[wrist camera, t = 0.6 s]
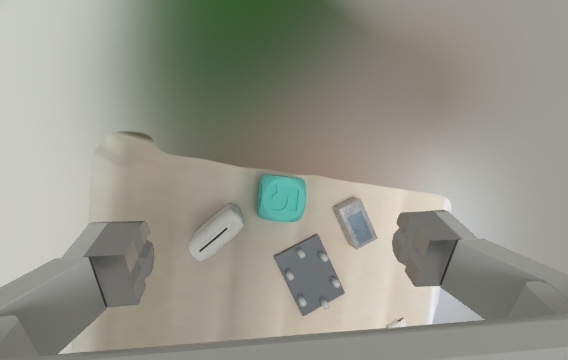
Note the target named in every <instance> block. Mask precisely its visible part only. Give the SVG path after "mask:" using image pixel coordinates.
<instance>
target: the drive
mask: <svg viewBox="0 0 568 360" xmlns="http://www.w3.org/2000/svg"><path fill="white" fill-rule="evenodd" d="M333 209H334V212H335V214H336V216H337V218H338V221H339V223H340V225H341V227H342V229H343V232H344V234H345V236H346V238H347V241H348V243H349V245H351V246H352V247H354V248H355V249H358V248H360V247H362V246H364V245H366V244H368V243H370V242H371V241H373V240H375V239H377V236H376V234H375V231H374V229H373V227H372V224H371V222H370V220H369V218H368V215H367V213H366V211H365V208H364V206H363V204H362V201H361V199H359V198H355V197H352V198H350V199H348V200H346V201H344V202H342V203H340V204H338V205H336V206H334V207H333Z"/></svg>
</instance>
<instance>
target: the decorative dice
mask: <svg viewBox="0 0 568 360" xmlns="http://www.w3.org/2000/svg"><path fill="white" fill-rule="evenodd" d="M305 201H306V185H305V181H304V180H303V179H302V178H294V177H284V176H275V175H265V174H263V175H262V176H261V178H260V183H259V190H258V201H257V214H258V216H259V217H260V218H263V219H267V220H273V221H282V222H295V221H298V220H299V219H300V218H301V217H302V215H303V212H304V208H305Z"/></svg>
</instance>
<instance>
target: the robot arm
mask: <svg viewBox="0 0 568 360" xmlns="http://www.w3.org/2000/svg"><path fill="white" fill-rule="evenodd" d="M397 225H398V226H399V229H398V230H397V231H396V232H395V233H394V235H393V240H392V246H393V252H394V254H395V257H396V258H397V260H398V261H399V262H400V263H402V264H404V265H405V266H406V268H405V272H406V274H407V275H408V277H409V278H410V280H411V281H412V283H413V284H414V286H415V287H420V286H441V288H442V289H444V290H445V291H447V292H448V293H449V294H451V295H452V296H453V297H455V298H456V299H458V300H459V301H460V302H462V303H463V304H464V305H466V306H467V307H469V308H470V309H471V310H473V311H474V312H475V313H477V314H478V315H480V316H481V317H482V318H484V319H485V320H481V321H468V322H456V323H443V324H431V325H418V326H406V327H394V328H381V329H369V330H356V331H343V332H331V333H318V334H306V335H293V336H281V337H268V338H256V339H244V340H231V341H219V342H207V343H195V344H183V345H170V346H158V347H146V348H133V349H120V350H108V351H95V352H82V353H69V354H58V353H59V352H60V351H61V350H62V349H64V347H66V346H67V345H68V344H69V343H70V342H71V341H72V340H73V339H74V338H76V337H77V336H78V335H79V334H80V333H81V332H82V331H83V330H84V329H85V328H86V327H88V326H89V325H90V324H91V323H92V322H93V321H94V320H95V319H96V318H97V317H98V316H99V315H101V314H102V313H103V312H104V311H105V310H106V307H117V306H128V305H138V304H139V302H140V299H141V297H142V294H143V292H144V289H145V287H146V285H145V281H144V279H145V278H147V277H148V276H149V275H150V274H151V271H152V269H153V264H154V248H153V244H152V243H151V242H150V241H148V240H147V238H148V236H149V234H150V230H149V226H148V223H147V222H145V221H123V222H93V223H90V224H89V225H88V226H87V227H86V229H85V230H84V231H83V232H82V234H81V235H80V236H79V237H78V238H77V240H76V241H75V242H74V243H73V245H72V246H71V247H70V248H69V249H68V251H67V252H66V253H65V254H64V256H63V257H62V258H60V259H53V260H52V261H50V262H48V263H46V264H44V265H42V266H40V267H38V268H37V269H35V270H33V271H31V272H29V273H27V274H25V275H23V276H21V277H20V278H18V279H16V280H14V281H12V282H10V283H8V284H6V285H4V286H3V287H1V288H0V360H568V275H567V274H565V273H562V272H560V271H557V270H555V269H553V268H551V267H548V266H546V265H543V264H541V263H539V262H536V261H534V260H532V259H529V258H527V257H524V256H522V255H520V254H518V253H515V252H513V251H511V250H508V249H506V248H503V247H501V246H499V245H497V244H494V243H492V242H489V241H487V240H485V239H478V238H477V237H476V236H475V235H474V234H473V233H471V232H470V231H469V230H468V229H467V228H466V227H465V226H464V225H463V224H461V223H460V222H459V221H458V220H457V219H456V218H455V217H454V216H453V215H452V214H450V213H449V212H448V211H445V210H436V211H425V212H405V213H400V215H399V216H398V219H397Z"/></svg>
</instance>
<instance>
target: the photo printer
mask: <svg viewBox="0 0 568 360" xmlns="http://www.w3.org/2000/svg"><path fill="white" fill-rule="evenodd" d="M243 226H244V221H243V217H242V215H241V211H240V209H239V208H238V207H237V206H236V205H232V204H231V203H230V204H228V205H227V206H225V207H224V208H222V209H221V210H220V211H219V212H217V213H216V214H215V215H214V216H212V217H211V218H210V219H209V220H208V221H207V222H205V223H204V224H203V225H202V226H201V227H200V228H199V229H198V230H197V231H196V232H195V233H194V235H193V236H192V238H191V240H190V242H189V243H188V245H187V247H188V250H189V252H190V253H191V254H192V256H193V257H195V259H196V260H198V261H203V260H205V259H207V258H209V257H210V256H212V255H213V254H214V253H216V252H217V251H218V250H219V249H221V248H222V247H223V246H224V245H225V244H227V243H228V242H229V241H230V240H231V239H232V238H233V237H234V236H235V235H236V234H237V233H238V232H239V231H240V230H241V229H242V227H243Z"/></svg>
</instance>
